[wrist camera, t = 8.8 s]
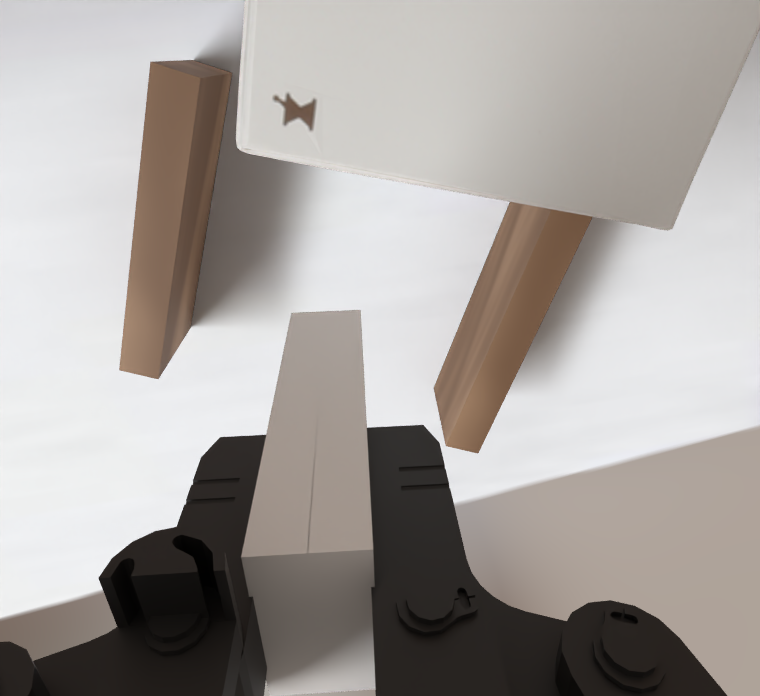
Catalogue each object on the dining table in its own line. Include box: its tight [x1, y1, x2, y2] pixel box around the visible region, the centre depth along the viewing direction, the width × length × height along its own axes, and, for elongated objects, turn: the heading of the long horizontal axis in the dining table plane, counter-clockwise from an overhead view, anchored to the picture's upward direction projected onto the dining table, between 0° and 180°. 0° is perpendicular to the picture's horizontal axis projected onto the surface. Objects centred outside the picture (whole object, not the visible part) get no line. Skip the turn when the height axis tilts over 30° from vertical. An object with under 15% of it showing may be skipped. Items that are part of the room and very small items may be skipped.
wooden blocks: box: [119, 60, 592, 453], centre depth 24 cm, size 16×12×5 cm
